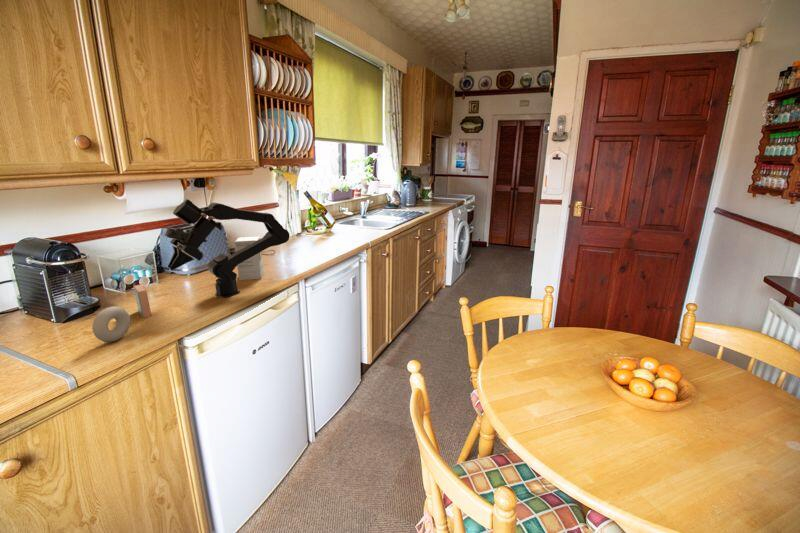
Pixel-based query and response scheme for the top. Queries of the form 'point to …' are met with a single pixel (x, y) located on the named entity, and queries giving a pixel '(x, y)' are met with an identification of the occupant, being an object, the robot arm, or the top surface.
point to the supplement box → (249, 260)
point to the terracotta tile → (142, 301)
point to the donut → (104, 318)
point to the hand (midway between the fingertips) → (169, 268)
